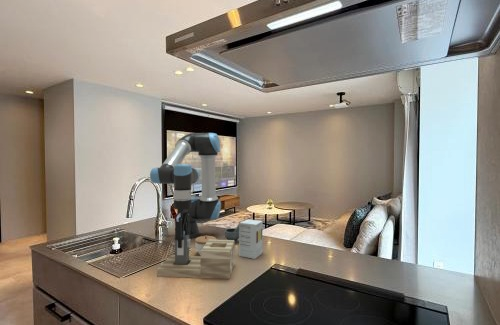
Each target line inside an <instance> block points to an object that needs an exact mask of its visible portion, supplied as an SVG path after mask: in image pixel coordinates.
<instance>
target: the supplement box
mask: <svg viewBox="0 0 500 325" xmlns="http://www.w3.org/2000/svg"><path fill="white" fill-rule="evenodd" d="M263 222H264V221H262V220H257V219H256V220H255V219H246V220H242V221H240V223H238V225H239V239H238V256H239V257H243V258H249V259H253V260H257V258H258V257H260V256H261V255H262V254H263V232H264V231H263V230H264V229H263V226H264V225H263Z"/></svg>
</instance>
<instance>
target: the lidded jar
mask: <svg viewBox="0 0 500 325" xmlns="http://www.w3.org/2000/svg"><path fill="white" fill-rule="evenodd" d="M208 240H217V238H216V237H215V236H212V235H203V236H202V235H201V236H197V237H195V239H194V241H195V250H196V252H197V253H198V254H199V256H201V249H202V248H203V247H204V245H205V244H206V243H207V241H208Z"/></svg>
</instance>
